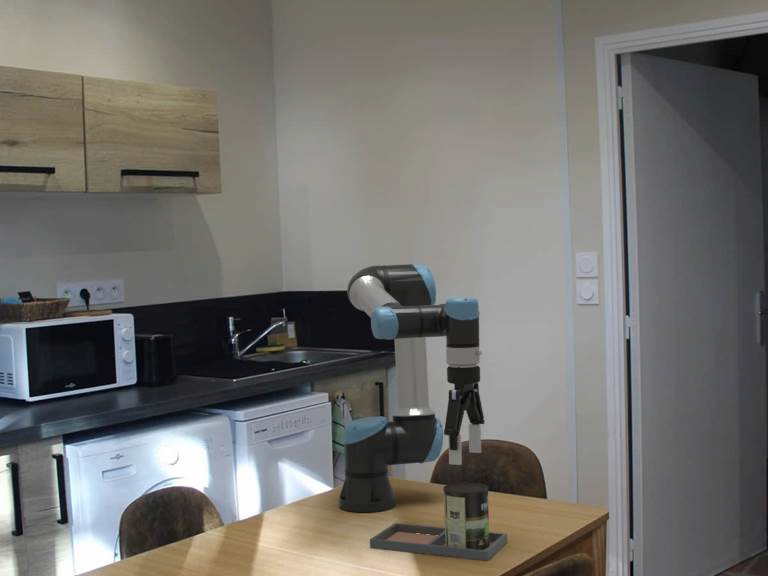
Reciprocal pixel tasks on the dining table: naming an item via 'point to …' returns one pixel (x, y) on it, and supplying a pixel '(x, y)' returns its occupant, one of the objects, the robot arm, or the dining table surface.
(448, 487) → the coffee can
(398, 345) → the robot arm
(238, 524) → the dining table surface
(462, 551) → the organiser
